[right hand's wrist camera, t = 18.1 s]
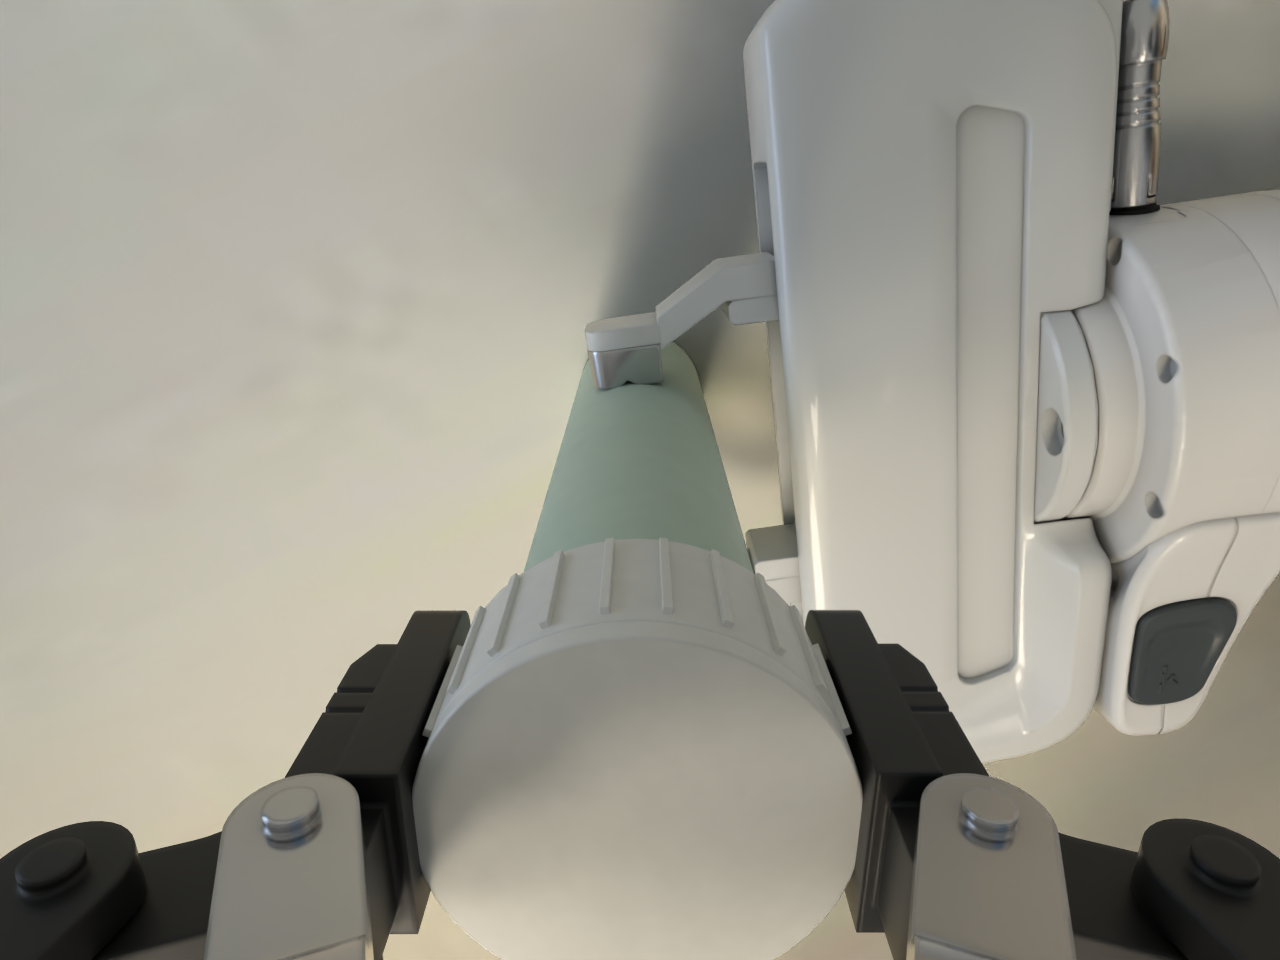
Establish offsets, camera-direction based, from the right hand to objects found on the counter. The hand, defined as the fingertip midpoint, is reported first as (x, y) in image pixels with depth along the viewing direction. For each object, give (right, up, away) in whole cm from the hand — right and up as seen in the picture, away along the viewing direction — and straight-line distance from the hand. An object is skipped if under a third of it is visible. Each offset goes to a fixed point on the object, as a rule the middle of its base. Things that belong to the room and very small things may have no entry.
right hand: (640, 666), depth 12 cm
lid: (0, -1, -3) cm, 3 cm away
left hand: (-1, +3, +10) cm, 10 cm away
